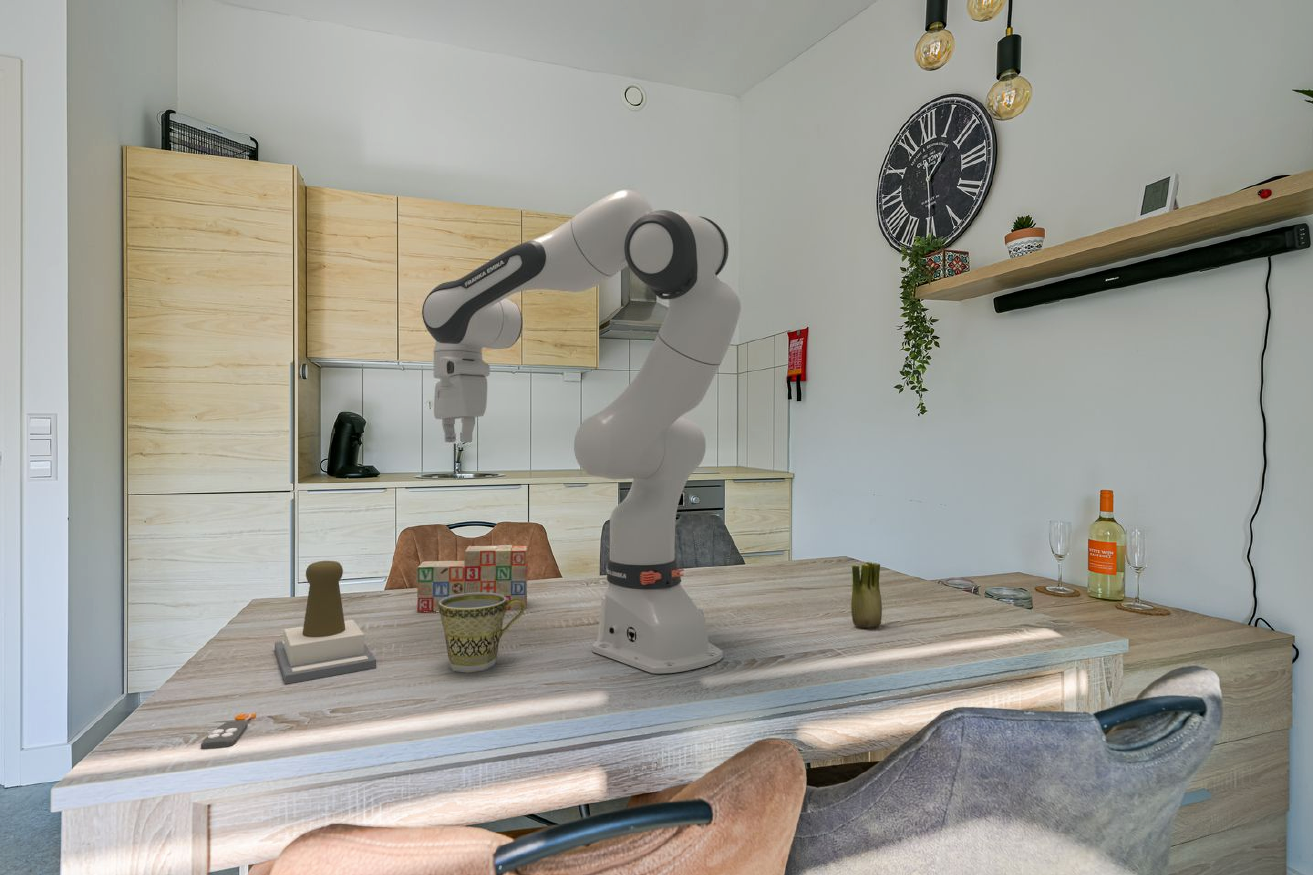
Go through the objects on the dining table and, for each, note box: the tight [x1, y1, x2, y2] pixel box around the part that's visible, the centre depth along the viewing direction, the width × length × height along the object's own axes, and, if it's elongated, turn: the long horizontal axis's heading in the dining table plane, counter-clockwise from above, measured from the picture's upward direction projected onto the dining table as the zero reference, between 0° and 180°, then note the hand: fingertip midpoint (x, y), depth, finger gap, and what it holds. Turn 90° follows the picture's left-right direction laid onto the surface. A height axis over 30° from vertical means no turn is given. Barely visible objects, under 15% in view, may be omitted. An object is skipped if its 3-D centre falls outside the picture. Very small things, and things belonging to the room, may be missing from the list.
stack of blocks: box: [416, 544, 529, 613], centre depth 134 cm, size 21×6×12 cm, turn 98°
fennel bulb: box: [850, 561, 883, 630], centre depth 122 cm, size 6×5×12 cm
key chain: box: [200, 710, 261, 750], centre depth 80 cm, size 13×4×2 cm, turn 13°
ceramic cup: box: [439, 592, 525, 674], centre depth 101 cm, size 13×10×10 cm
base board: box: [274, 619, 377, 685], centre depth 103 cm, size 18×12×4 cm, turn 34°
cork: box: [302, 560, 345, 637], centre depth 103 cm, size 6×6×11 cm
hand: (458, 442), depth 124 cm, fingers open, 8 cm apart
